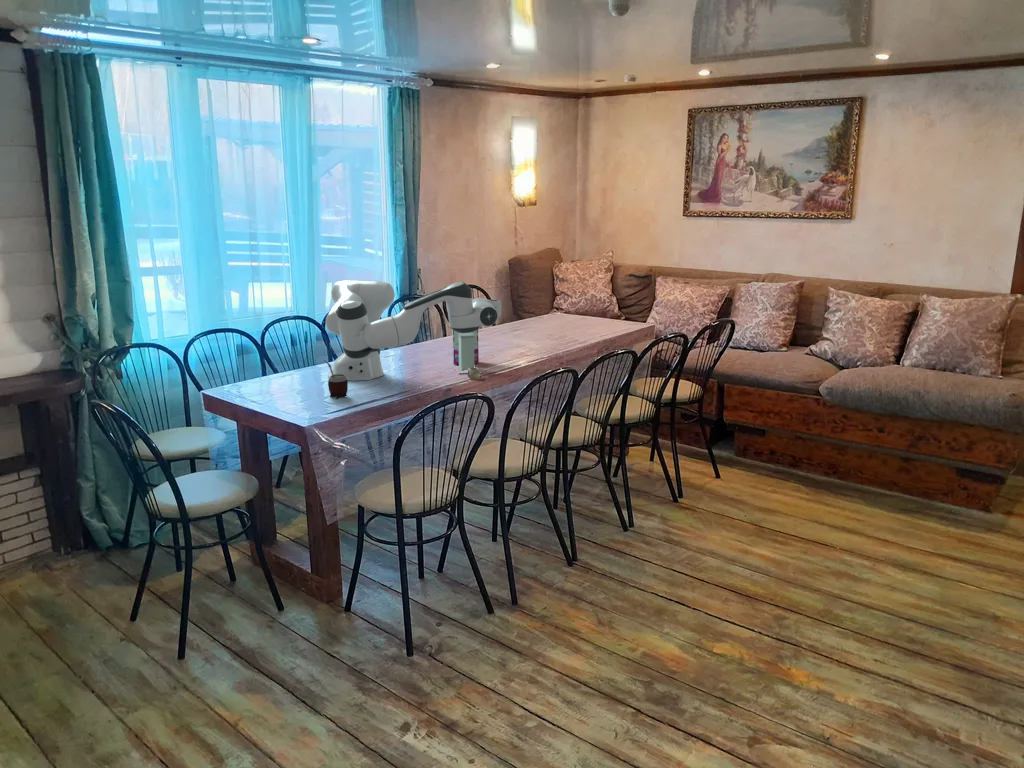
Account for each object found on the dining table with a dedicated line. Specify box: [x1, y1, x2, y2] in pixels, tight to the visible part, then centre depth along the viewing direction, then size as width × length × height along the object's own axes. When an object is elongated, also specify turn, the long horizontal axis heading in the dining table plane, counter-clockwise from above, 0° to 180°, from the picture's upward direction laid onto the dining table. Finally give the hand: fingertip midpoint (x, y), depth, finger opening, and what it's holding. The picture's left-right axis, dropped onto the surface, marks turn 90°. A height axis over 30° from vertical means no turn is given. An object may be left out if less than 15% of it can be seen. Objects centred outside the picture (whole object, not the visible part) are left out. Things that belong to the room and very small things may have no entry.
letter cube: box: [467, 366, 480, 380], centre depth 312 cm, size 4×4×4 cm
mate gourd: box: [323, 359, 349, 400], centre depth 282 cm, size 8×8×15 cm
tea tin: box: [458, 333, 475, 371], centre depth 323 cm, size 6×6×15 cm
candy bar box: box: [451, 329, 480, 365], centre depth 335 cm, size 11×5×16 cm, turn 101°
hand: (471, 304), depth 307 cm, fingers open, 8 cm apart
